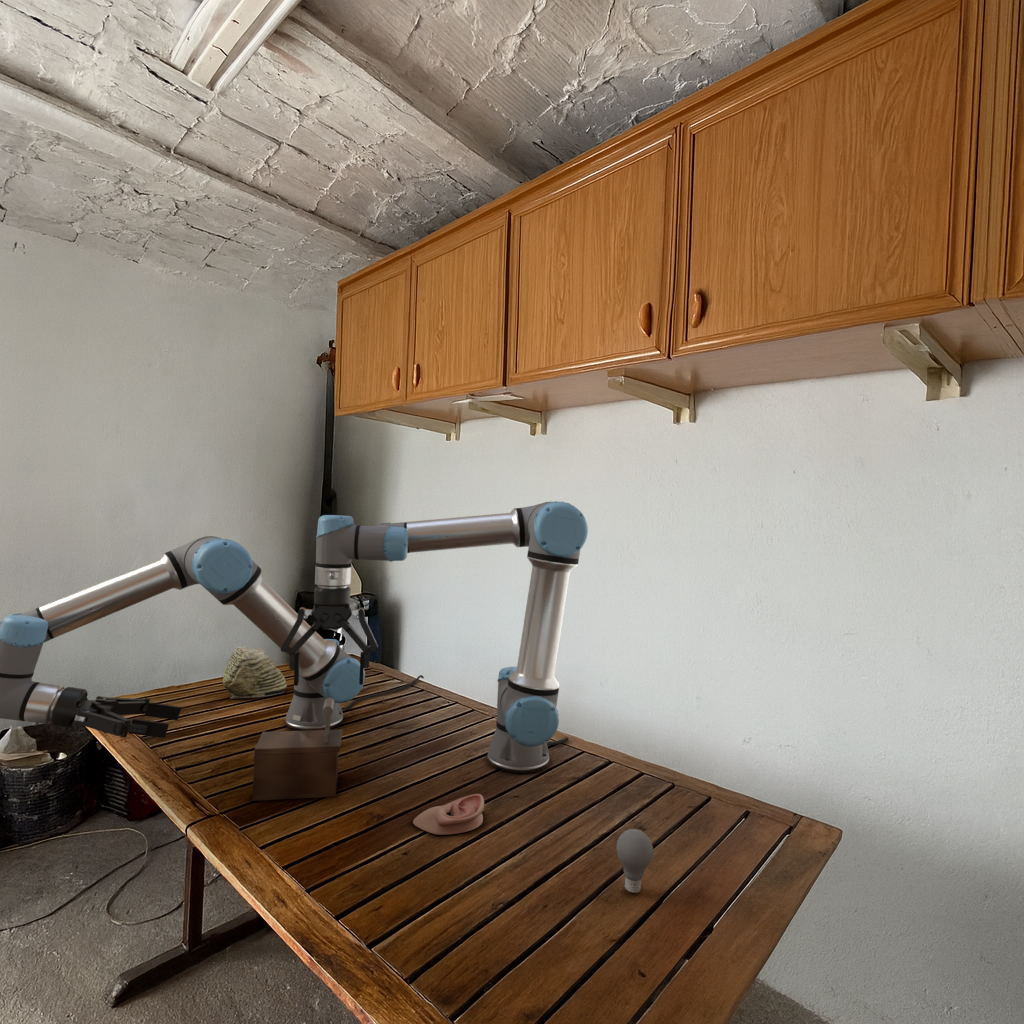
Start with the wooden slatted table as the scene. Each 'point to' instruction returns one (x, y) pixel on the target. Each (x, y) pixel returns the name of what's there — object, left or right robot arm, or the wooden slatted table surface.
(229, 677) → the fossil
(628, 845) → the light bulb
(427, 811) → the anatomical model
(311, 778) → the chest
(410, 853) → the wooden slatted table surface
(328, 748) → the lid
